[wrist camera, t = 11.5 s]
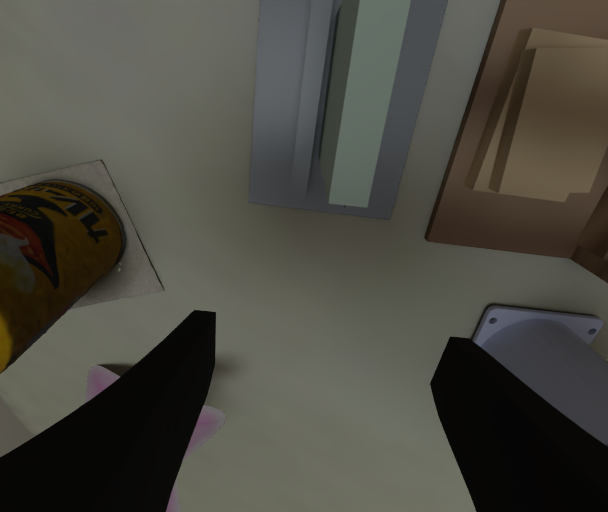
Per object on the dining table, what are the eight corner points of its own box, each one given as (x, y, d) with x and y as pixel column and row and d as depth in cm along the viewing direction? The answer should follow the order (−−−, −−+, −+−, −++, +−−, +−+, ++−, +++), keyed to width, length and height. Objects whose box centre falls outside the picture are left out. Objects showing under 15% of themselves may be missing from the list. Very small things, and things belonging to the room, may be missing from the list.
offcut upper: (574, 187, 17) (589, 192, 16) (488, 187, 17) (498, 193, 16) (624, 49, 14) (646, 46, 13) (522, 50, 14) (536, 47, 13)
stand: (387, 217, 19) (398, 234, 17) (249, 199, 19) (242, 215, 17) (458, -52, 14) (487, -78, 12) (266, -86, 13) (259, -120, 11)
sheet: (340, 157, 17) (367, 207, 10) (317, 154, 17) (328, 203, 10) (363, 18, 15) (420, -47, 7) (336, 14, 15) (368, -56, 7)
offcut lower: (551, 196, 18) (564, 202, 17) (464, 184, 18) (472, 190, 17) (623, 48, 15) (643, 45, 14) (519, 31, 15) (532, 27, 14)
